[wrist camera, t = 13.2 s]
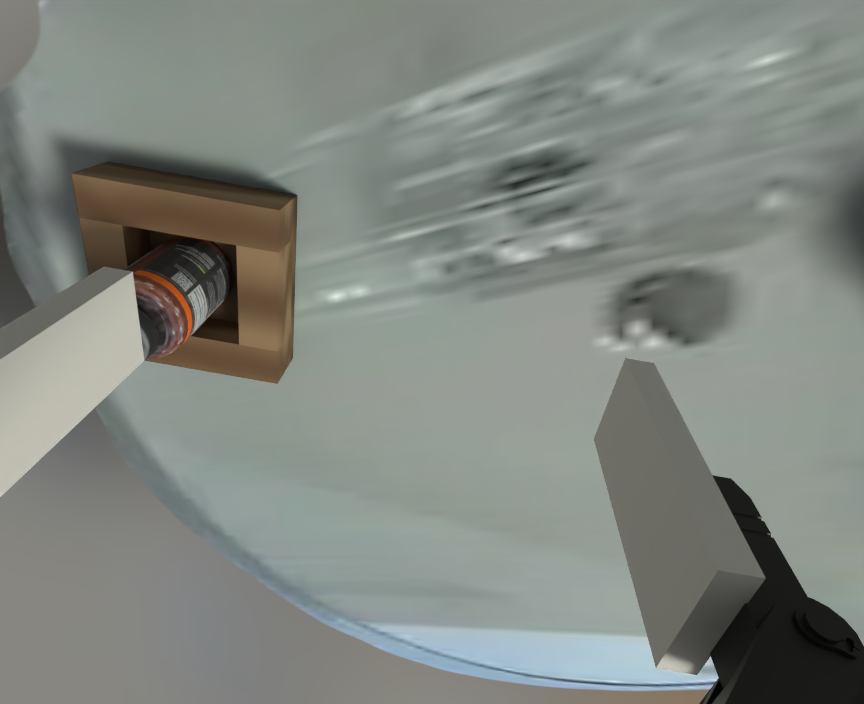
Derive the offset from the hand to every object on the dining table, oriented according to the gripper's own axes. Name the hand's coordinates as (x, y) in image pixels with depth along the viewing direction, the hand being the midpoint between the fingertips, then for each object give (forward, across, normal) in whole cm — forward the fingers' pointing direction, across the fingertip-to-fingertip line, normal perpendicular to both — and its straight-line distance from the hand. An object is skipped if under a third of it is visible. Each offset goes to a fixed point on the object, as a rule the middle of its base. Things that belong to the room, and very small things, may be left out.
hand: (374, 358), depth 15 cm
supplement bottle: (+26, -17, -11) cm, 33 cm away
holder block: (+27, -17, -11) cm, 34 cm away
